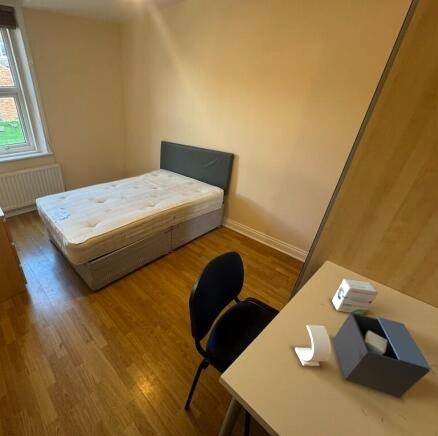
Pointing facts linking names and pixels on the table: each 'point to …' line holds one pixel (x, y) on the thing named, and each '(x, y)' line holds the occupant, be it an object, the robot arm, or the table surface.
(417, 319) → the table surface
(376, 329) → the grey container
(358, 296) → the ink box
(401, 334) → the panel
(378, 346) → the box
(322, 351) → the headphone stand
